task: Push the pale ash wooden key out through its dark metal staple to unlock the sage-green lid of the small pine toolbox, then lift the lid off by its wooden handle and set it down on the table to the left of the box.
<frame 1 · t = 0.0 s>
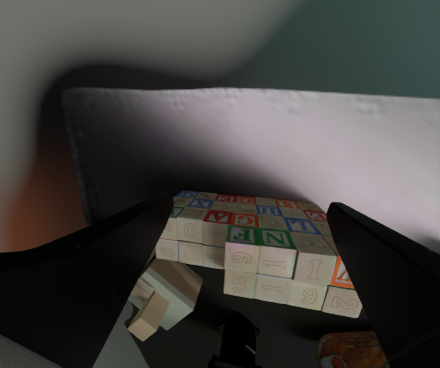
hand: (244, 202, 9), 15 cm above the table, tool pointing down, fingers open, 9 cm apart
lid: (160, 297, 27), point 5 cm above the table, touching toolbox
toolbox: (173, 273, 32), on the table
wooden key: (112, 286, 23), point 9 cm above the table, slide at 0.0 cm
stack of blocks: (244, 212, 26), on the table
tin: (352, 336, 29), on the table
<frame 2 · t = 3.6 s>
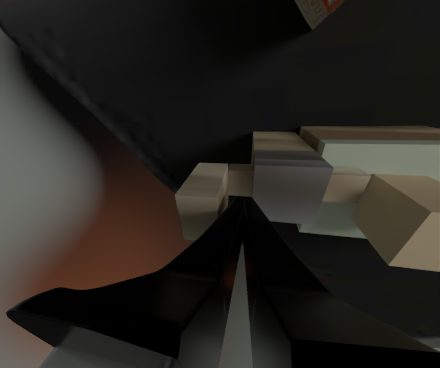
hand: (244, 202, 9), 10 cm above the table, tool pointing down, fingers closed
lid: (375, 192, 12), point 5 cm above the table, touching toolbox
toolbox: (343, 166, 16), on the table
wooden key: (279, 197, 9), point 9 cm above the table, slide at 0.7 cm, touching gripper
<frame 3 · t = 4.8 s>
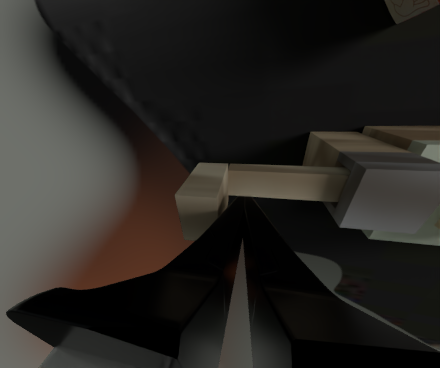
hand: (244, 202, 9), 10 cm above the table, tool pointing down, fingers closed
toolbox: (405, 168, 16), on the table
wooden key: (278, 197, 9), point 9 cm above the table, slide at 6.2 cm, touching gripper
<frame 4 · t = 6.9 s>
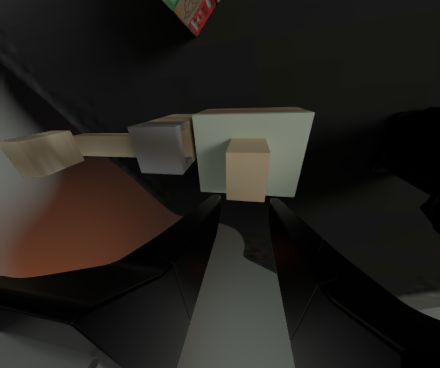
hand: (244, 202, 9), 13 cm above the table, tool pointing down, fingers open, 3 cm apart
lid: (247, 155, 16), point 5 cm above the table, touching toolbox
toolbox: (247, 142, 20), on the table
wooden key: (93, 151, 14), point 9 cm above the table, slide at 6.3 cm
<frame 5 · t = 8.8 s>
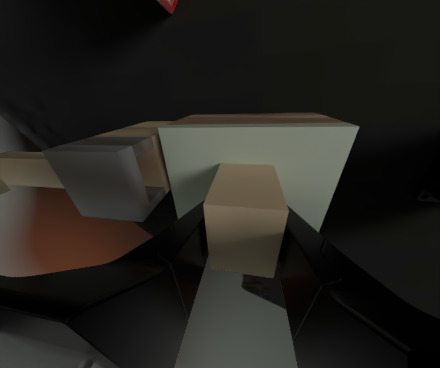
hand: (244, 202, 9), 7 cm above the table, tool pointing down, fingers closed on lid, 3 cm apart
lid: (245, 185, 11), point 5 cm above the table, touching gripper, toolbox
toolbox: (246, 159, 15), on the table
wooden key: (3, 184, 9), point 9 cm above the table, slide at 6.3 cm
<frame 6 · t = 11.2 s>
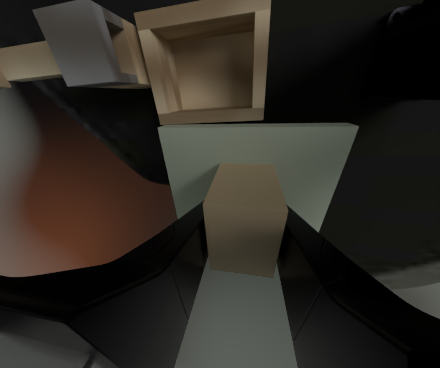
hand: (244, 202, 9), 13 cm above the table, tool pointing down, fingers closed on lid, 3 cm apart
lid: (245, 185, 11), point 11 cm above the table, touching gripper
toolbox: (215, 76, 17), on the table
wooden key: (5, 58, 11), point 9 cm above the table, slide at 6.3 cm
when the fingers open (3 cm above the table, at t = 13.8 s): lid drops 2 cm, on the table.
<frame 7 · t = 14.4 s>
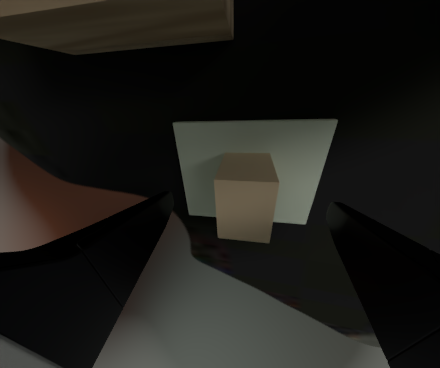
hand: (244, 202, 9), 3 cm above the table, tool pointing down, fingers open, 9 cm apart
lid: (246, 172, 13), on the table
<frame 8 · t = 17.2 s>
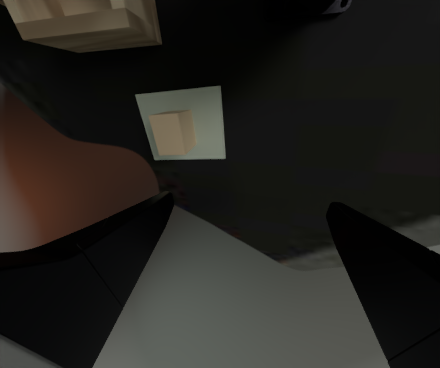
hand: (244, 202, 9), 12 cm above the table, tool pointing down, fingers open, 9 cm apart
lid: (185, 126, 20), on the table
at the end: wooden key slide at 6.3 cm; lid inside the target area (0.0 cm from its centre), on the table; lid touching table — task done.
